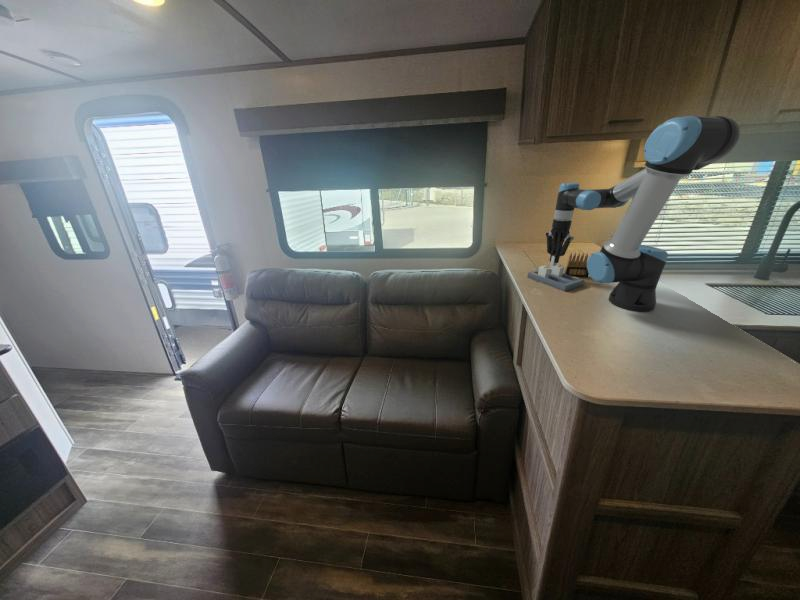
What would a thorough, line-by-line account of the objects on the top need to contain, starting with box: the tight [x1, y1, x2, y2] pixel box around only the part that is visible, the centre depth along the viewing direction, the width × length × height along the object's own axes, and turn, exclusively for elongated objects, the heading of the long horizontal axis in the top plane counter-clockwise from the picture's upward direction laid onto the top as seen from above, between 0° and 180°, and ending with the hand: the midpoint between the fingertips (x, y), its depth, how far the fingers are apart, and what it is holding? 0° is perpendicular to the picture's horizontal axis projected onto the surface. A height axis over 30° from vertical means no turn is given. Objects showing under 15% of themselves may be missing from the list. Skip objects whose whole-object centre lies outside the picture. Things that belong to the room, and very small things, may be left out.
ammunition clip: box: [563, 252, 593, 278], centre depth 146 cm, size 11×2×12 cm, turn 79°
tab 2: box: [551, 264, 565, 277], centre depth 144 cm, size 4×3×6 cm
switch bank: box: [527, 269, 585, 292], centre depth 143 cm, size 20×13×3 cm, turn 28°
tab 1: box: [537, 265, 552, 278], centre depth 143 cm, size 4×3×6 cm
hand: (552, 268), depth 146 cm, fingers closed
